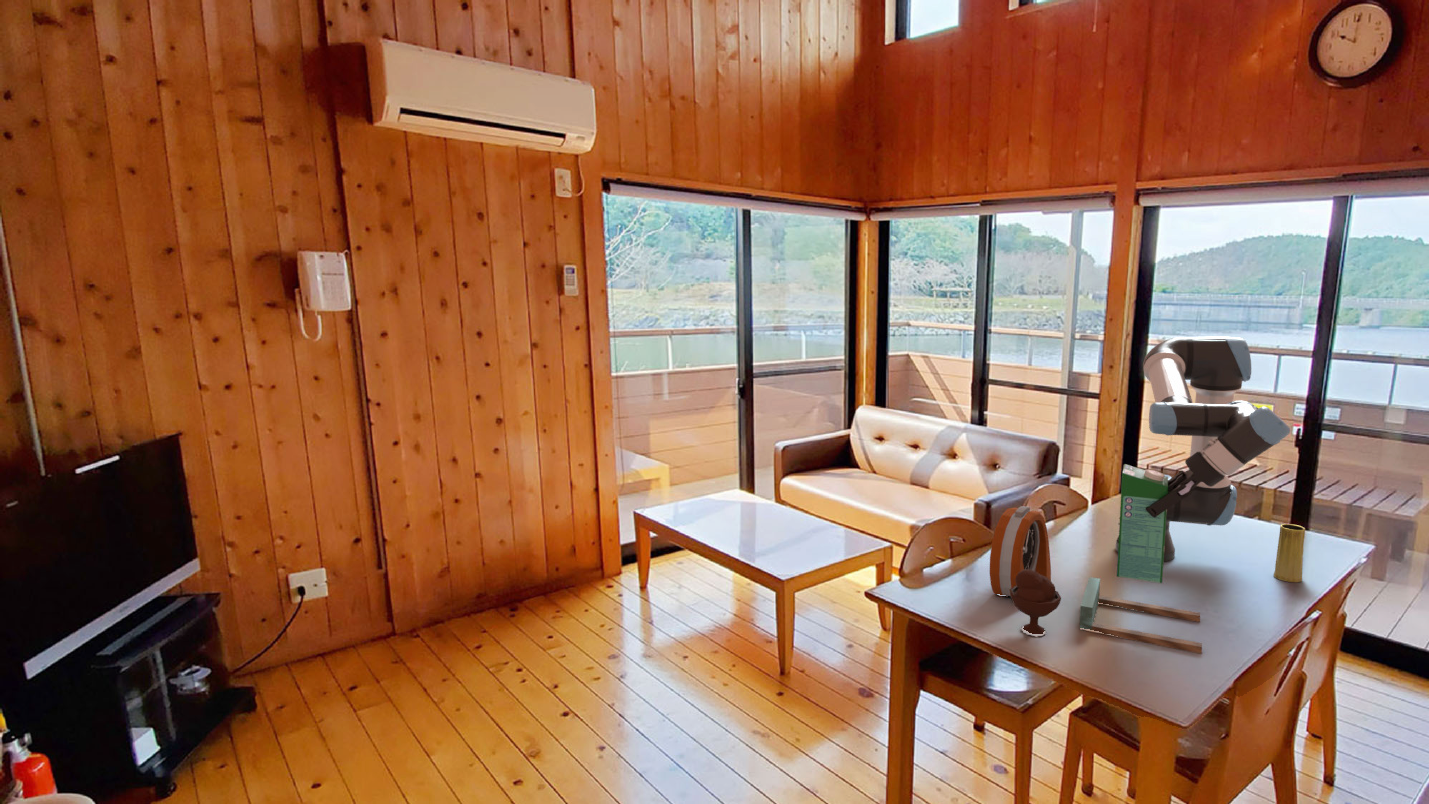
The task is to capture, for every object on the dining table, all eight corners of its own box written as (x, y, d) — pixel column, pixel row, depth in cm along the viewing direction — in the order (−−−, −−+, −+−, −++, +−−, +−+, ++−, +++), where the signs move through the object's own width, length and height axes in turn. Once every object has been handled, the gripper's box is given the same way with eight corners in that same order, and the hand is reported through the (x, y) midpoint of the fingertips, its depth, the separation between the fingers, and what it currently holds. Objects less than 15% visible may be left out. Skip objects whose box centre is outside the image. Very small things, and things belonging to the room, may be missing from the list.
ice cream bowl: (1035, 646, 166) (1037, 583, 164) (998, 626, 176) (1000, 567, 174) (1069, 636, 170) (1072, 574, 168) (1031, 617, 180) (1033, 558, 178)
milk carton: (1162, 583, 167) (1168, 476, 163) (1116, 576, 172) (1122, 472, 167) (1162, 569, 175) (1168, 466, 170) (1118, 563, 179) (1123, 463, 175)
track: (1199, 618, 176) (1201, 595, 175) (1201, 653, 161) (1203, 627, 160) (1087, 599, 189) (1088, 577, 188) (1079, 629, 173) (1080, 605, 172)
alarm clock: (1026, 609, 185) (1029, 522, 181) (987, 599, 191) (989, 515, 188) (1056, 581, 201) (1059, 501, 197) (1019, 573, 207) (1022, 495, 204)
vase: (1307, 583, 194) (1312, 531, 191) (1280, 582, 195) (1285, 530, 193) (1294, 574, 200) (1299, 523, 197) (1268, 573, 201) (1273, 522, 199)
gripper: (1197, 442, 170) (1112, 503, 181) (1201, 459, 156) (1108, 523, 167) (1224, 467, 168) (1136, 526, 179) (1229, 486, 154) (1134, 549, 165)
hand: (1123, 525), depth 173 cm, fingers open, 4 cm apart
